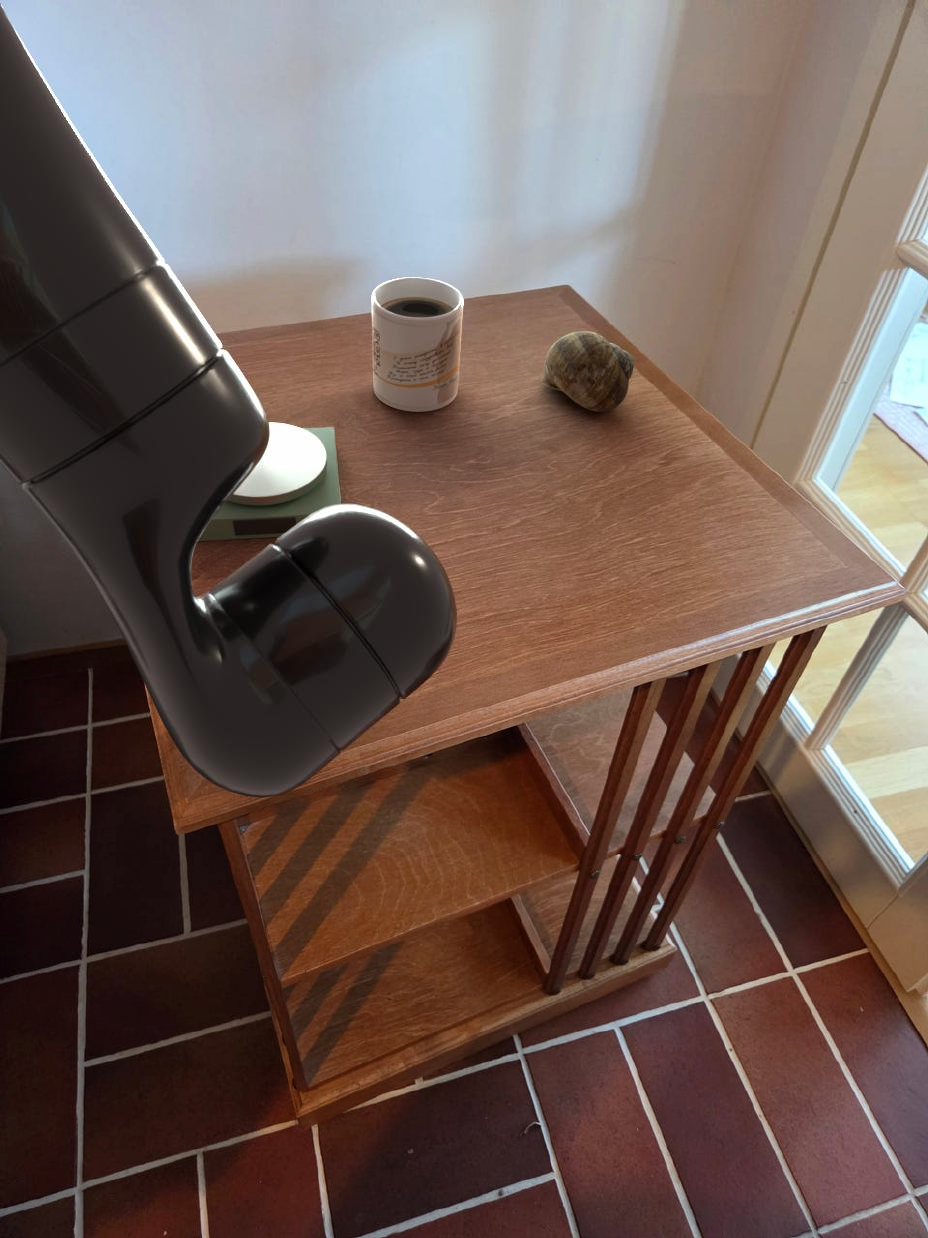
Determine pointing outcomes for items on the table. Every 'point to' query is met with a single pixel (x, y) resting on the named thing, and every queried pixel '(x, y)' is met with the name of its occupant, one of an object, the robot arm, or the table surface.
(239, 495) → the scale
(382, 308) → the mug
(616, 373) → the seashell
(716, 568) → the table surface
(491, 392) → the table surface
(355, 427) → the table surface
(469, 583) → the table surface
